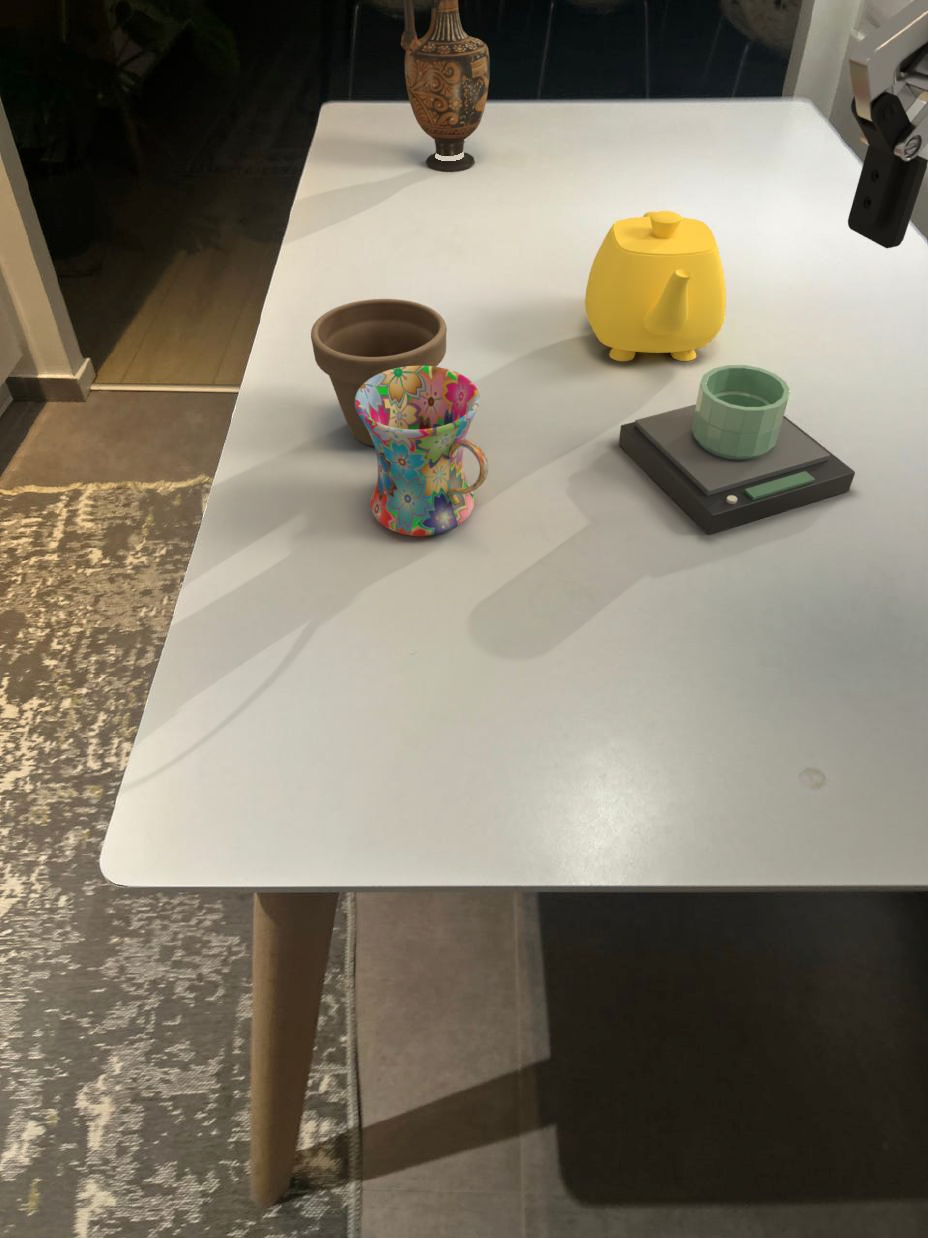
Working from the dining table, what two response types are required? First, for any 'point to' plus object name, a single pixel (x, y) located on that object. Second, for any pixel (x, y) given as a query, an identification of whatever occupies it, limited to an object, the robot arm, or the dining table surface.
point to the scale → (732, 471)
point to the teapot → (656, 287)
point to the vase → (445, 81)
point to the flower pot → (374, 346)
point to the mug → (421, 447)
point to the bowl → (739, 411)
